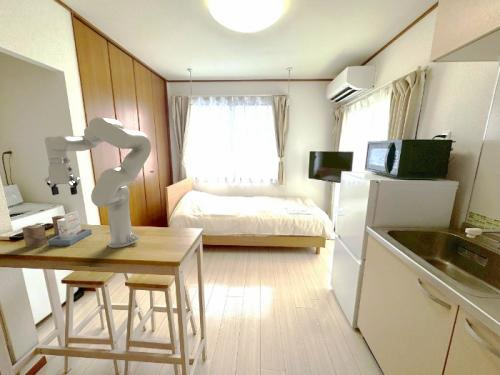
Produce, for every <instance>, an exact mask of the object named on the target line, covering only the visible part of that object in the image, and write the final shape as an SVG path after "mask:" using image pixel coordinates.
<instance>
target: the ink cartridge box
mask: <svg viewBox="0 0 500 375" xmlns="http://www.w3.org/2000/svg"><path fill="white" fill-rule="evenodd" d="M63 216H64V218H62V219H60V220H57V225H58V230H59V234H58V235H60V239H71V238H73V237H75V236H77V235H79V234H80V233H82V230H81V229H82V225H81V219H80V215H79V211H78V210H74V211H72V212H68V213H66V214H63Z"/></svg>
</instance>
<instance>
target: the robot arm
mask: <svg viewBox="0 0 500 375" xmlns="http://www.w3.org/2000/svg"><path fill="white" fill-rule="evenodd" d="M83 134H84V135H81V136H77V135H75V136H74V135H58V136H46V137H45V138H44V144H45V149H46V154H47V159H48V166H47V167H48V168H47V169H48V171H47V172H48V177H46V178H44V182H45V183H46V185H47V186H49V188H50V189H51V193H52V194H51V195H52V196H56V195H60V190H59V187H58V185H69V190H70V195H71V196H73V195H77V194H78V188H77V187H78V185H79V184H80V180H81V178H80V177H78V176H76V174H75V171H74V168H73V166H72V164H71V163H70V162H71V159H69V156H68V152H83V151H84V152H85V151H89V150H92V149H94V148H96V147H98V146H99V144H101V143H105V142H106V143H107V144H109V145H111V146H113V147H115V148H118V149H120V150H121V149H122V150H125V149H127V150H130V149H131V150H130V151H129V152H128V153H127V154H126V156H124V158H123V160H122V162H121V164H120V165H118V166H116V167H109V168H107V169H105V170H104V171H103V172H101V174H100V176H99V178H98V179H97V181H96V183H95V185H94V187H93V188H92V191H91V195H90V198H91V202H92V204H93V205H95V206H96V207H100V208H105V207H108V208H107V219H108V227H109V233H110V240H109V241H108V243H107V246H108V247H109V248H113V249H115V248H116V249H118V248H124V247H127V246H130V245H132V244H134V243H135V242H137V241H139V240H140V235H139V234H135V232H132V231H133V230H132V222H131V220H132V219H131V211H130V196H131V191H130V189H129V187H128V186H131V185H132V184H134V182H135V181H136V179H137V177H138V176H139V173H140V172H141V170H142V168H143V167H144V165H145V163H146V162H147V161H148V158H149V157H150V154H151V151H152V142H151V140H150V139H149V137H148V136H147V134H146V133H144V132H141V131H139V130H135V129H134V130H132V129H125V127H124V125H123V123H121V122H120V121H119V120H116V119H114V118H108V117H102V116H98V117H96V116H95V117H93V118H92V119H91V120H89V123H88V126H86V127H85V128H84V129H83Z"/></svg>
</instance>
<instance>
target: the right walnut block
mask: <svg viewBox="0 0 500 375" xmlns="http://www.w3.org/2000/svg"><path fill="white" fill-rule="evenodd" d="M62 218H64V215H55V216H52V217H51V221H52V226H53V230H54V231H53V232H54V234H56V235H57V234H58V235H59V230H58V225H57V220H60V219H62Z"/></svg>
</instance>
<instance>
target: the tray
mask: <svg viewBox="0 0 500 375" xmlns="http://www.w3.org/2000/svg"><path fill="white" fill-rule="evenodd" d="M81 230H82V233H80V234H79V235H77V236H75V237H73V238H71V239H60V235H59V234H58V235H56V236H53V237H51V238H49V239H47V245H48V246H50V247H51V246H53V247H54V246H55V247H57V246H58V247H59V246H60V247H61V246H62V247H63V246H73V245H75V244H76V243H77V242H80V241H81V240H84V239H85V238H88V237H89V236H90V235H92V234H93V232H92V231H93V230H92V228H81Z"/></svg>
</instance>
